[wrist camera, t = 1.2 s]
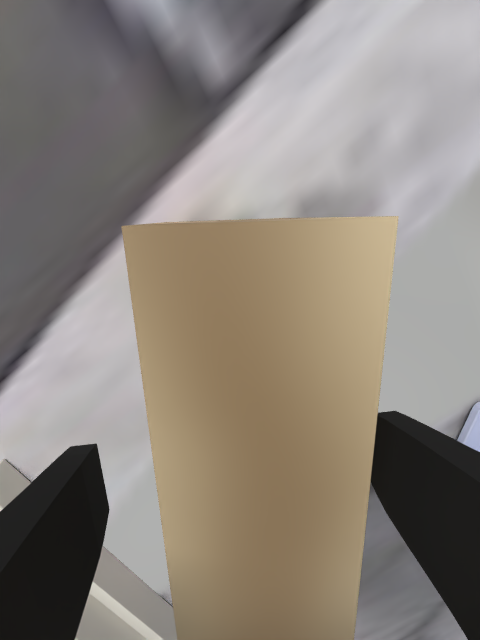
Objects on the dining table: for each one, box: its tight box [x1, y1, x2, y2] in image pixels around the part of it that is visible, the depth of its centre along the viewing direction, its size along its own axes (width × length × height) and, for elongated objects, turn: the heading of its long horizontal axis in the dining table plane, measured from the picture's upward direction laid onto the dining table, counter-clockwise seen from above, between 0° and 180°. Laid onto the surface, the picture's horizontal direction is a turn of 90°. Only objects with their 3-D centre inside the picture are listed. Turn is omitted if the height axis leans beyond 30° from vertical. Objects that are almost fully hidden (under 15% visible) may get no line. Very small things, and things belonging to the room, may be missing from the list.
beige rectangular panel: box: [122, 216, 398, 640], centre depth 10 cm, size 4×12×7 cm, turn 2°
